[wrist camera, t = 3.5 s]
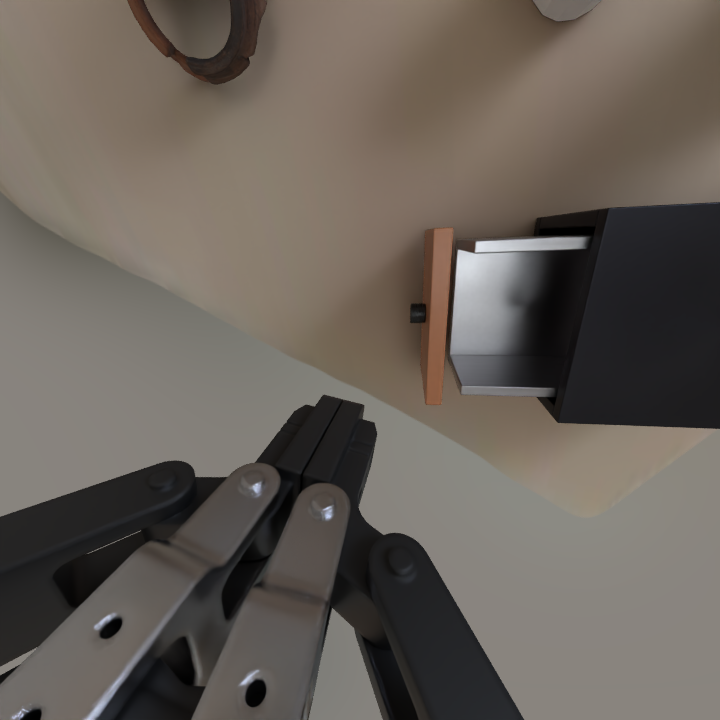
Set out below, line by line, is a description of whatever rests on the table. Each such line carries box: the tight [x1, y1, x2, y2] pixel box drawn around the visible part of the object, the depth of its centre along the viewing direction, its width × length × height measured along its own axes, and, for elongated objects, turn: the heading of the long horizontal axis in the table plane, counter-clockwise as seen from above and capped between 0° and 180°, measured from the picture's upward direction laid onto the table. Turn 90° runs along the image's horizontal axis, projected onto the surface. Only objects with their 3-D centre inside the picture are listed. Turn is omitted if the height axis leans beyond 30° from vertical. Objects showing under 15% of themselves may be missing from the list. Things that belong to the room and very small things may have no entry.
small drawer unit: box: [534, 202, 720, 429], centre depth 22 cm, size 16×14×10 cm
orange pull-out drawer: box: [410, 228, 594, 405], centre depth 24 cm, size 16×13×8 cm
